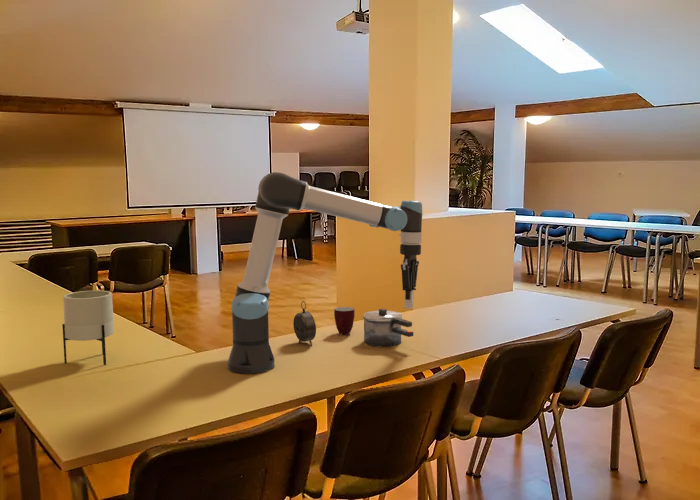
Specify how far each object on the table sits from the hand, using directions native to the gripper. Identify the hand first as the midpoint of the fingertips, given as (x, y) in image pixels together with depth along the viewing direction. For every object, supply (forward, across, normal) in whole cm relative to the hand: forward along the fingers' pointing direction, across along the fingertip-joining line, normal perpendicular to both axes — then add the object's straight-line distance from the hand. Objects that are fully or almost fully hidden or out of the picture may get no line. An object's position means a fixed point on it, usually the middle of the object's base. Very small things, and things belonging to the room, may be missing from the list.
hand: (408, 307), depth 223 cm
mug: (+15, -6, -29) cm, 33 cm away
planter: (+17, +62, -92) cm, 112 cm away
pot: (+15, 0, -7) cm, 16 cm away
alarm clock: (+16, +12, -37) cm, 42 cm away
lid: (+5, 0, -7) cm, 9 cm away
